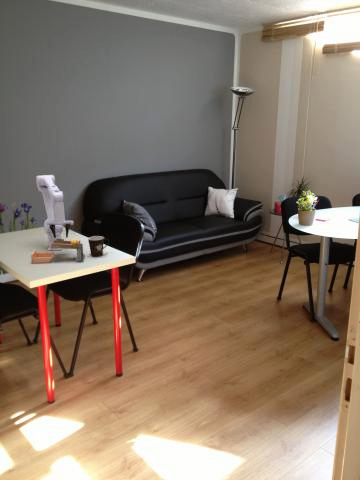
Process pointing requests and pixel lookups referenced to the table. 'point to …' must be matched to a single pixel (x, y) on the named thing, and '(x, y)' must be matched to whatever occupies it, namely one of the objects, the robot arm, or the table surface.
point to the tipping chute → (65, 244)
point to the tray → (42, 257)
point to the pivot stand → (80, 254)
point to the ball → (74, 242)
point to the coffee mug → (96, 245)
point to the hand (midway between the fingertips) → (61, 237)
